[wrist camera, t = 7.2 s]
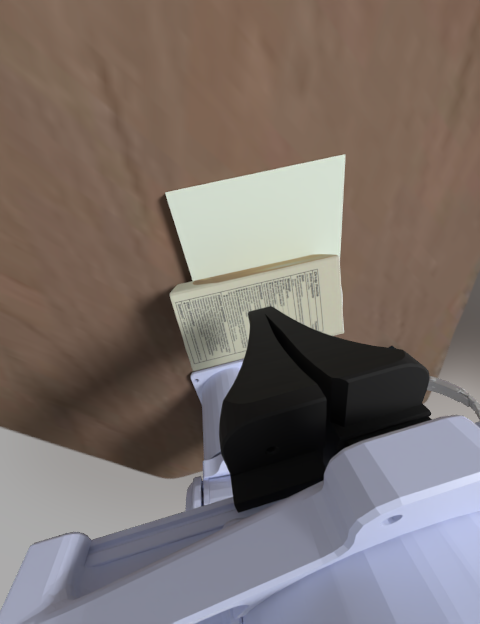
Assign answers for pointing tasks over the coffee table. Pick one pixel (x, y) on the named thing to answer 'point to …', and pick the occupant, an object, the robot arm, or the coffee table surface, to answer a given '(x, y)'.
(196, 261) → the mat
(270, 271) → the skincare box
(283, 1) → the coffee table surface
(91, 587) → the robot arm
